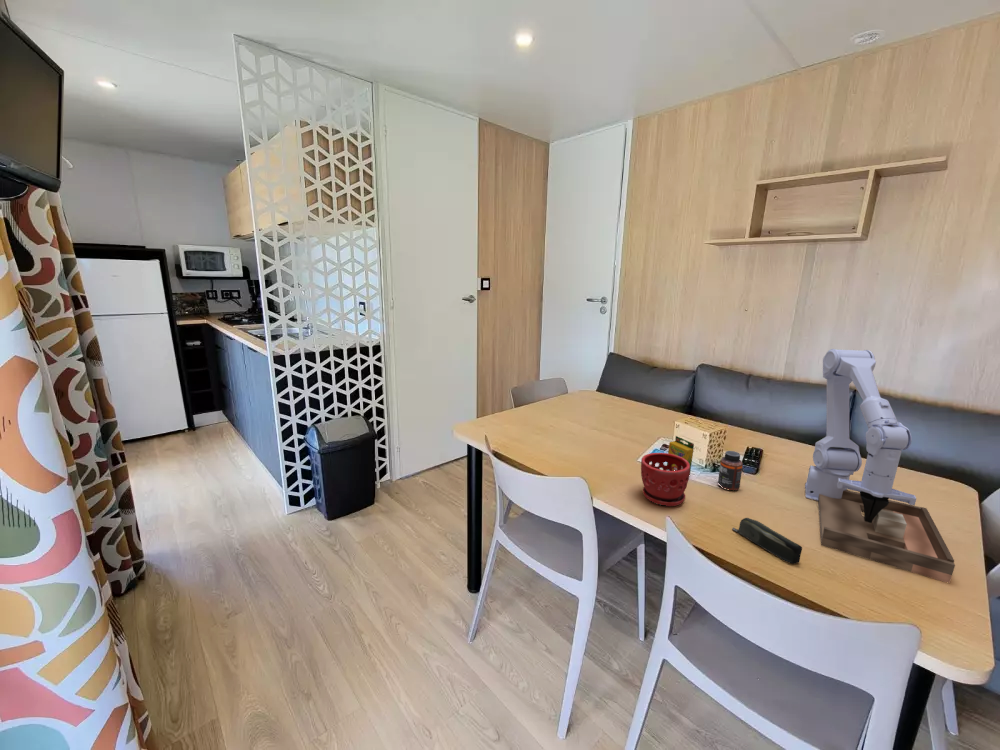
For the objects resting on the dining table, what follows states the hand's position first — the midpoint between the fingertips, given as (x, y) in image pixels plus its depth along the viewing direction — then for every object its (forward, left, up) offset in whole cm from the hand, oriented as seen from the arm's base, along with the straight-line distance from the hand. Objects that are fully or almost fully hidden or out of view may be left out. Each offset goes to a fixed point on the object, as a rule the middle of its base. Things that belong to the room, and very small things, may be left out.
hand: (867, 520), depth 105 cm
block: (+4, 0, -1) cm, 4 cm away
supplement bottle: (-32, +5, -3) cm, 32 cm away
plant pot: (-47, -14, -3) cm, 49 cm away
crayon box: (-47, +6, -3) cm, 47 cm away
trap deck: (+2, 0, -3) cm, 4 cm away
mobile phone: (-21, -22, -4) cm, 31 cm away
